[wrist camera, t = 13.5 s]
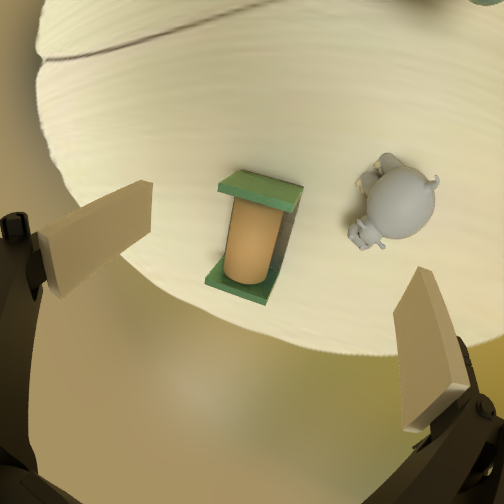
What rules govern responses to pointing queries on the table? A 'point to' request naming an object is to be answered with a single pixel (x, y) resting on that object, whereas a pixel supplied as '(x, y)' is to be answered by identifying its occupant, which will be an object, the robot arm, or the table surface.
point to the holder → (288, 201)
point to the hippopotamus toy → (393, 203)
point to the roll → (251, 241)
